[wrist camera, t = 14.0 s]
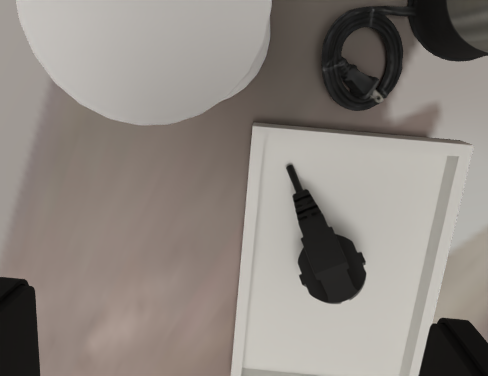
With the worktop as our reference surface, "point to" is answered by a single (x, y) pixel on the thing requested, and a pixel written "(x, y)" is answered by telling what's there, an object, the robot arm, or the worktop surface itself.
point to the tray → (364, 239)
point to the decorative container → (148, 52)
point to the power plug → (325, 253)
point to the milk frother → (426, 31)
